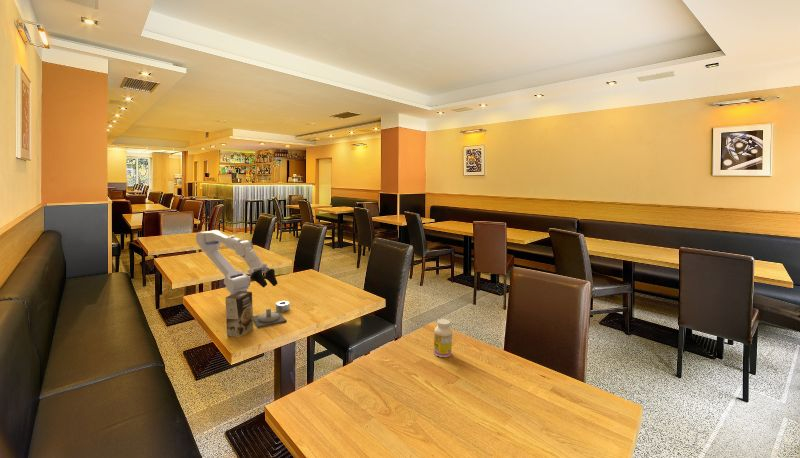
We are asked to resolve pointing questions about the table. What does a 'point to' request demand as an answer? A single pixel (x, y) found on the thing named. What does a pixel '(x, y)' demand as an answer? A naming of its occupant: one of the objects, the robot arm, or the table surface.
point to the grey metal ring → (282, 306)
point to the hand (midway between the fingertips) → (270, 285)
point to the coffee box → (239, 313)
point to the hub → (268, 319)
